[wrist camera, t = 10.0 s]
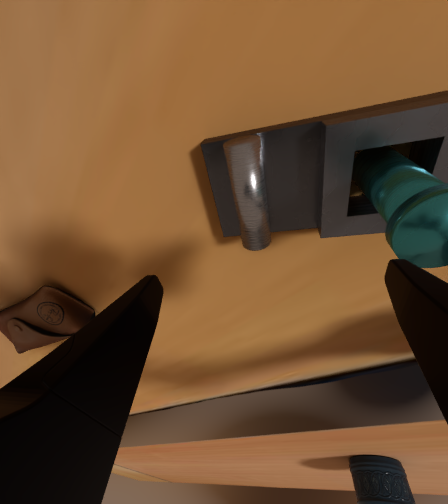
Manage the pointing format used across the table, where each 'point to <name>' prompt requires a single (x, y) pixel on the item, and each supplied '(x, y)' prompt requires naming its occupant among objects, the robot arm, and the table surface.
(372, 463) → the canister
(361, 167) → the pin
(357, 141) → the plate
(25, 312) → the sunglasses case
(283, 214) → the lower chain end
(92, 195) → the table surface
